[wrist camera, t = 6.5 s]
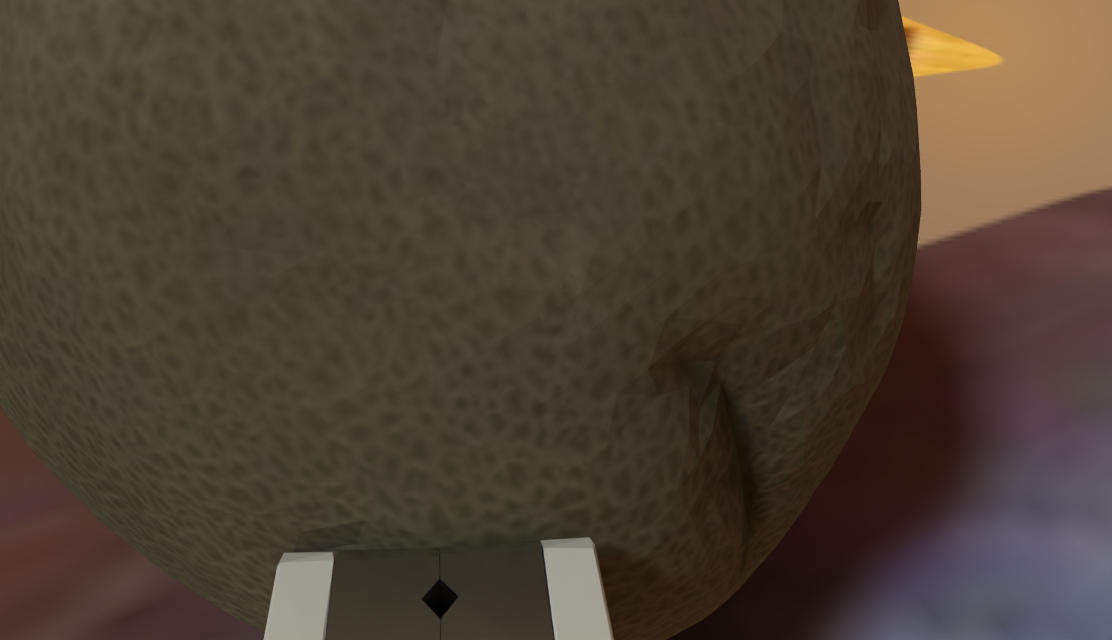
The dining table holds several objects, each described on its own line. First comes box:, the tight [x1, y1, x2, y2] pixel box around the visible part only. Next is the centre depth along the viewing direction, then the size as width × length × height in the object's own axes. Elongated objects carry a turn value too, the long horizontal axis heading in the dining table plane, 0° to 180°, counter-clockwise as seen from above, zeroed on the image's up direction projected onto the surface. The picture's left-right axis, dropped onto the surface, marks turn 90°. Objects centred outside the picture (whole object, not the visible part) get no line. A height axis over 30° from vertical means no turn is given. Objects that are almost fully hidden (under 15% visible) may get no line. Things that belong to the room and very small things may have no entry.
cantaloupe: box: [0, 0, 921, 640], centre depth 15 cm, size 14×14×15 cm
